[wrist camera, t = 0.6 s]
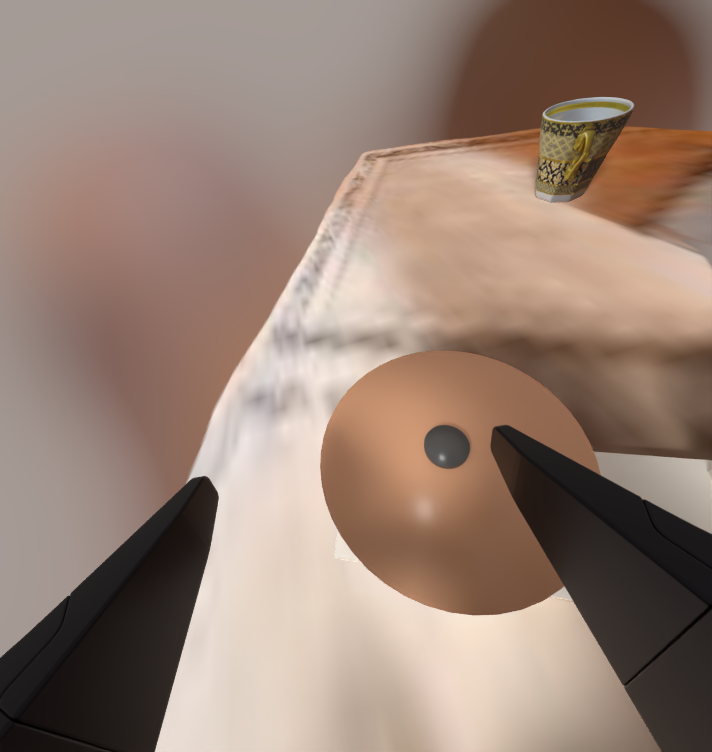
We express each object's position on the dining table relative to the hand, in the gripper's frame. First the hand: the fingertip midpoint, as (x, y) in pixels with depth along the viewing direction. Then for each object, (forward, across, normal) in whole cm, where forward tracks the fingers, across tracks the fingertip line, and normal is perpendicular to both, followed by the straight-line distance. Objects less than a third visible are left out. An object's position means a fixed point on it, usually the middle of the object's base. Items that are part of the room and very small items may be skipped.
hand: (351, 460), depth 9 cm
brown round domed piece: (+5, -4, +9) cm, 11 cm away
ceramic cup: (+44, -36, -2) cm, 56 cm away
